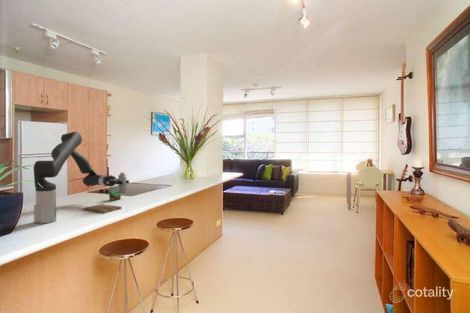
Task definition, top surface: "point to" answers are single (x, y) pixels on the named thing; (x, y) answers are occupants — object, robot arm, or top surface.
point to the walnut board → (102, 208)
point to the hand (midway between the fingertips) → (125, 182)
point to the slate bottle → (123, 178)
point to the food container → (114, 193)
